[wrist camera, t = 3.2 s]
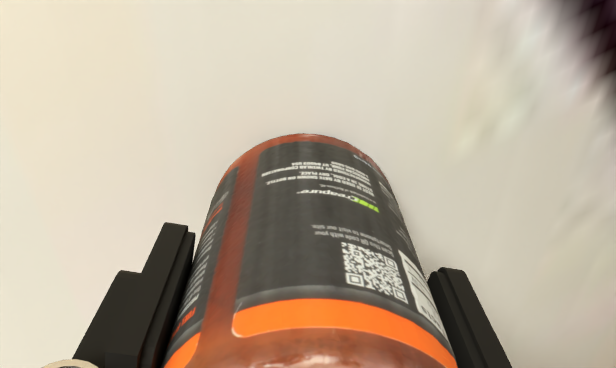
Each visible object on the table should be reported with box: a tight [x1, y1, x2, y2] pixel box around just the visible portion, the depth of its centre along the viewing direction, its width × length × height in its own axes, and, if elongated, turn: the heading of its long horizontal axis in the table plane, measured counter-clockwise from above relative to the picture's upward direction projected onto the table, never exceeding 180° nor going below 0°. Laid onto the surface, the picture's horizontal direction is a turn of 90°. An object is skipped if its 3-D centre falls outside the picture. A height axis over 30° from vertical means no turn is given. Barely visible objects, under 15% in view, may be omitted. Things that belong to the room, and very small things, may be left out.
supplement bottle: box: [160, 133, 458, 368], centre depth 10 cm, size 6×6×11 cm
